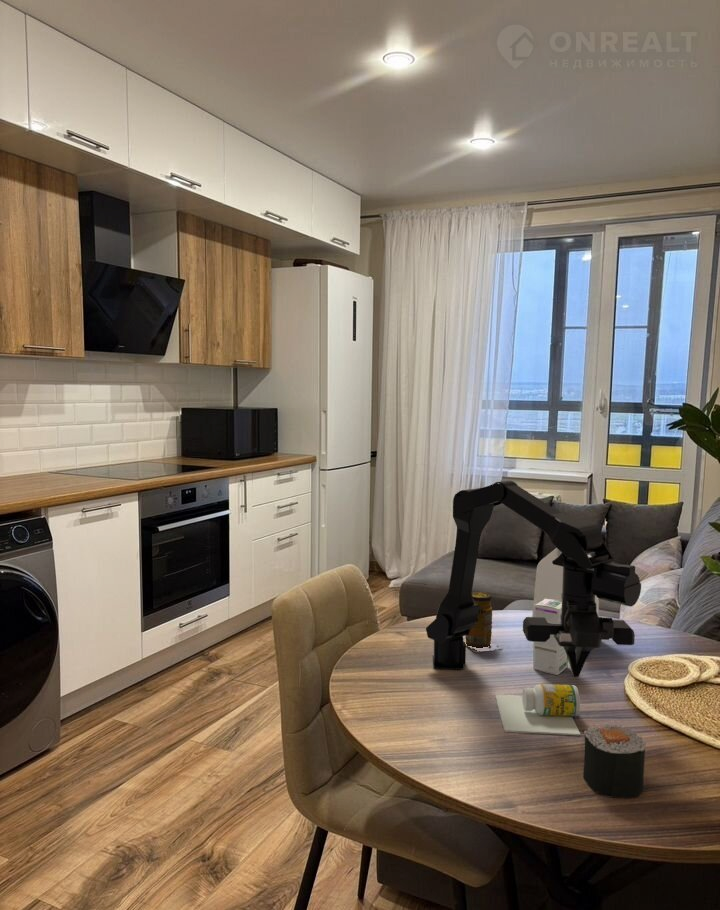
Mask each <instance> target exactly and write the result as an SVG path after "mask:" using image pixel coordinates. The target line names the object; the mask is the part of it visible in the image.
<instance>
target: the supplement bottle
mask: <svg viewBox="0 0 720 910" xmlns="http://www.w3.org/2000/svg"><path fill="white" fill-rule="evenodd" d="M521 696H522V702H523V708H524V710H525V711H532V710H533V709H535V711H536V713H537V714H539V715H557V716H572V717H576V716H579V714H580V710H581V699H580V698H581V697H580V696H581V695H580V691H579V690H578V687H577V686H576V685H573V684H571V685H570V684H547V683H545V684H544V683H543V684H542V683H541V684H540V683H539V684H535V686H534V687H533V688H532V687H523V688H522V694H521Z"/></svg>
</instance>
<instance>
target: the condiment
mask: <svg viewBox="0 0 720 910" xmlns="http://www.w3.org/2000/svg"><path fill="white" fill-rule="evenodd" d="M472 598H473V600H474V603H475V604H478V605H480V609H479V612H478V622H476V623H475V625H474V627H473V628H471V631H470V633H469V635H465V636H464V637H465V639H466V644H467V646H466V648H467V649H469V650H470V651H472V652H474V653H481V652H480V651H479V652H477V650H475V649H471V648H470V647H468V646H472V647H476V648H483V647H488V646H490V644H491V642H492V632H493V631H492V628H493V626H492V624H493V607H492V606H491V605H492V601H491V599H492V597H491V594H490V593H486V592H480V591H479V592H478V591H475V592H474V591H472ZM465 639H464V638H463V641H464V640H465ZM497 646H498V645H497ZM497 646H496V647H497Z"/></svg>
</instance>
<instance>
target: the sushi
mask: <svg viewBox="0 0 720 910" xmlns="http://www.w3.org/2000/svg"><path fill="white" fill-rule="evenodd" d="M583 734H584V760H583V772H582V774H583V776H582V777H583V780H584V781H585V782H586V784H587V786H588V787H590V789H592V791H594V792H596V793H597V794H600V795H603V796H605V797H610V798H618V799H620V798H621V799H622V798H623V799H634V798H635V799H636V798H638V797H640V796H641V795H642V794H643V792H644V774H645V758H646V757H645V755H646V745H647V742H645V741H644V740H643V736H641V735H640V736H639V735H638V732H635V730H631V728H628V727H625V728H624V727H623V726H622V725H619V726H618V725H616V724H615V725H609V724H606V725H604V726H602V727H600V728H599V727H598V725H595V726H594V728H593V727H591V726H589V727H588V728H587V730H584V733H583Z"/></svg>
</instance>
